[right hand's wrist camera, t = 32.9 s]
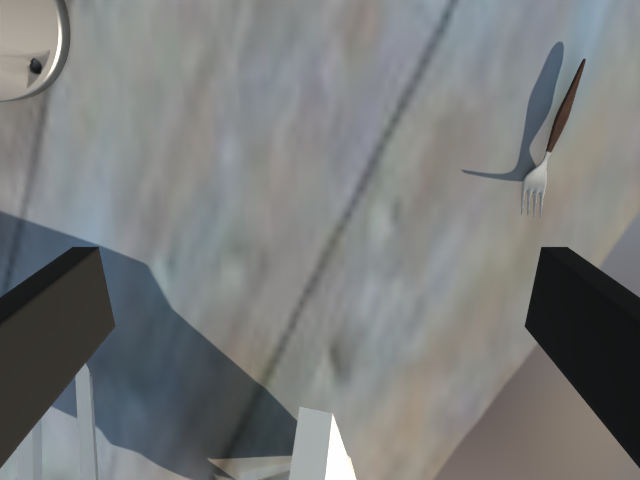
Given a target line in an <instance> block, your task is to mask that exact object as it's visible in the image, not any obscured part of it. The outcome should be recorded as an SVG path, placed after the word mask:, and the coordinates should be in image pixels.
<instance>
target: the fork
mask: <svg viewBox="0 0 640 480" xmlns="http://www.w3.org/2000/svg"><path fill="white" fill-rule="evenodd" d="M585 60H586V59H583V61H582V62H581V64H580V66H579V68H578V71H577V73H576V75H575V77H574V79H573V81H572V83H571V86H570V88H569V90H568V92H567V94H566V96H565V98H564V100H563V102H562V104H561V106H560V108H559V110H558V113H557V115H556V117H555V120H554V123H553V127H552V130H551V134H550V138H549V142H548V145H547V149H546V153H545V156H544V159H543V161H542V162H541V163H540V164H539V165H538V166H537V167H536V168H534V169H533V170H532V171H531V172H529V173H528V174H527V175H526V177H525V178H524V180H523V184H522V195H521V215H522V213H523V204H524V196H525V192H526V191H527V192H528V199H527V216H529V206H530V199H531V194H532V192H533V193H534V209H533V215H534V217H535V209H536V201H537V195H538V193H539V194H540V219H541V212H542V204H543V197H544V192H545V188H546V182H547V173H546V164H547V160H548V158H549V156H550V154H551V152H552V150H553V148H554V146H555V144H556V142H557V140H558V138H559V136H560V134H561V132H562V130H563V128H564V126H565V124H566V122H567V120H568V117H569V114H570V111H571V108H572V104H573V101H574V97H575V94H576V90H577V87H578V84H579V81H580V78H581V75H582V71H583V68H584V64H585Z"/></svg>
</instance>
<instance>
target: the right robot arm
mask: <svg viewBox="0 0 640 480" xmlns="http://www.w3.org/2000/svg"><path fill="white" fill-rule="evenodd" d="M69 46H70V24H69V17H68V12H67V8H66V5H65V2H64V0H0V102H2V101H13V100H21V99H26V98H29V97H32V96H35V95H37V94H39V93H41V92H42V91H44V90H45V89H47V88H48V87H49V86H50V85H51V84H52V83H53V82H54V81H55V80H56V79H57V77H58V76H59V74H60V73H61V71H62V69H63V67H64V65H65V62H66V59H67V56H68V52H69ZM114 327H115V323H114V318H113V313H112V309H111V304H110V299H109V294H108V290H107V285H106V280H105V276H104V271H103V266H102V261H101V257H100V252H99V247H72V248H71V249H69V250H68V251H66V252H65V253H63V254H62V255H61V256H59V257H58V258H56V259H55V260H53V261H52V262H51V263H49V264H48V265H46V266H45V267H43V268H42V269H41V270H39V271H38V272H36V273H35V274H33V275H32V276H31V277H29V278H28V279H26V280H25V281H23V282H22V283H21V284H19V285H18V286H16V287H15V288H13V289H12V290H11V291H9V292H8V293H6V294H5V295H3V296H2V297H1V298H0V468H1V467H2V466H3V464H4V463H5V462H6V461H7V459H8V458H9V457H10V456H11V454H12V453H13V452H14V451H15V450H16V448H17V447H18V446H19V445H20V443H21V442H22V441H23V440H24V438H25V437H26V436H27V435H28V434H29V432H30V431H31V430H32V429H33V427H34V426H35V425H36V424H37V422H38V421H39V420H40V419H41V417H42V416H43V415H44V414H45V413H46V411H47V410H48V409H49V408H50V406H51V405H52V404H53V403H54V401H55V400H56V399H57V398H58V397H59V395H60V394H61V393H62V392H63V390H64V389H65V388H66V387H67V385H68V384H69V383H70V382H71V380H72V379H73V378H74V377H75V376H76V374H77V373H78V372H79V371H80V369H81V368H82V367H83V366H84V364H85V363H86V362H87V361H88V360H89V358H90V357H91V356H92V355H93V353H94V352H95V351H96V350H97V348H98V347H99V346H100V345H101V343H102V342H103V341H104V340H105V339H106V337H107V336H108V335H109V334H110V332H111V331H112V330H113V329H114ZM525 327H526V329H527V330H528V331H529V332H530V334H531V335H532V336H533V337H534V339H535V340H536V341H537V342H538V343H539V345H540V346H541V347H542V348H543V350H544V351H545V352H546V353H547V355H548V356H549V357H550V358H551V359H552V361H553V362H554V363H555V364H556V366H557V367H558V368H559V369H560V371H561V372H562V373H563V374H564V376H565V377H566V378H567V379H568V380H569V382H570V383H571V384H572V385H573V387H574V388H575V389H576V390H577V392H578V393H579V394H580V395H581V397H582V398H583V399H584V400H585V401H586V403H587V404H588V405H589V406H590V408H591V409H592V410H593V411H594V413H595V414H596V415H597V416H598V417H599V419H600V420H601V421H602V422H603V424H604V425H605V426H606V427H607V428H608V430H609V431H610V432H611V433H612V435H613V436H614V437H615V438H616V440H617V441H618V442H619V443H620V445H621V446H622V447H623V448H624V450H625V451H626V452H627V453H628V454H629V456H630V457H631V458H632V459H633V461H634V462H635V463H636V464H637V466H638V467H639V468H640V298H639V297H638V296H637V295H635V294H634V293H632V292H631V291H629V290H628V289H627V288H625V287H624V286H622V285H621V284H619V283H618V282H617V281H615V280H614V279H612V278H611V277H609V276H608V275H606V274H605V273H604V272H602V271H601V270H599V269H598V268H597V267H595V266H594V265H592V264H591V263H589V262H588V261H587V260H585V259H584V258H582V257H581V256H579V255H578V254H577V253H575V252H574V251H572V250H571V249H569V248H568V247H541V252H540V257H539V261H538V266H537V271H536V276H535V280H534V285H533V290H532V294H531V299H530V304H529V309H528V313H527V318H526V323H525Z"/></svg>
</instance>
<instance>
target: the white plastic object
mask: <svg viewBox="0 0 640 480" xmlns="http://www.w3.org/2000/svg"><path fill="white" fill-rule="evenodd" d="M75 379H76V399H77V419H78V438H79V458H80V478H81V480H99V477H98V461H97V446H96V431H95V415H94V400H93V385H92V377H91V374H90V372H89V369H88V367H87V365H86V363H85V364H84V366H83V367H82V368H81V369H80V371H79V372H78V373H77V374H76V376H75ZM17 480H42V434H41V419H40V420H39V421H38V422H37V424H36V425H35V426H34V427H33V429H32V430H31V431H30V432H29V434H28V435H27V436H26V437H25V438H24V440H23V441H22V442H21V443H20V445H19V446H18V447H17ZM258 480H356V477H355V473H354V470H353V466H352V462H351V459H350V457H349V456H348V455H347V454H346V451H345V448H344V446H343V443H342V440H341V437H340V434H339V431H338V428H337V425H336V422H335V419H334V416H333V414H332V413H328V412H323V411H318V410H313V409H308V408H304V407H300V409H299V415H298V422H297V428H296V435H295V442H294V448H293V455H292V462H291V468H290V470H288V471H284V472H281V473H278V474H274V475H271V476H268V477H264V478H261V479H258Z"/></svg>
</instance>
